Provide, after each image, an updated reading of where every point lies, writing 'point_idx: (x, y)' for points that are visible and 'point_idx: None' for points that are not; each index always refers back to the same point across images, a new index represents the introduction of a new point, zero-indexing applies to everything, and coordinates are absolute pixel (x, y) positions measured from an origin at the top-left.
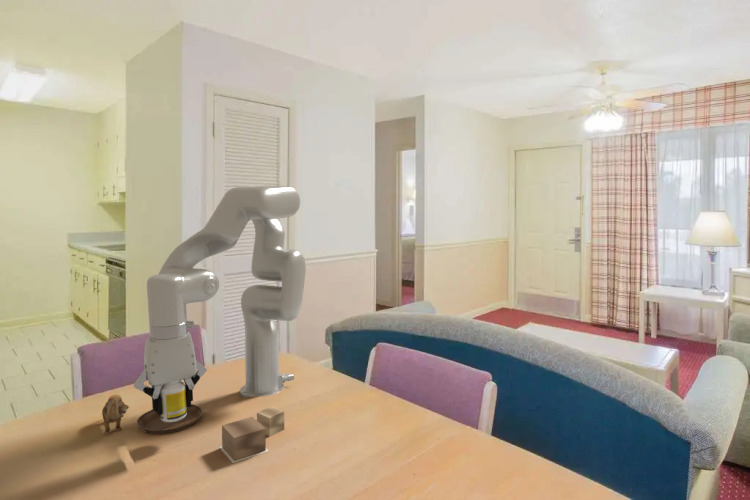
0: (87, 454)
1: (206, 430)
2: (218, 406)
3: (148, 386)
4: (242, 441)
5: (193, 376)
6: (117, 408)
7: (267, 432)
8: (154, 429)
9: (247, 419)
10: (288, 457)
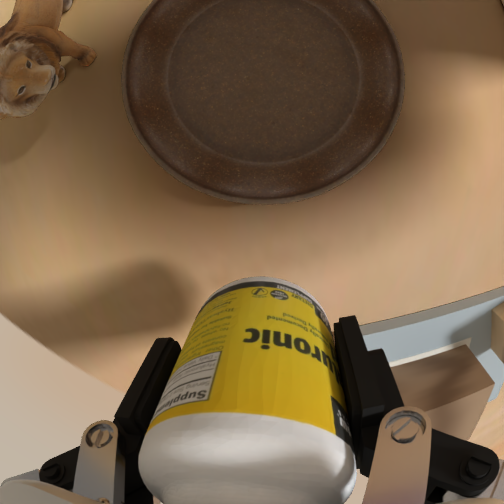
0: (33, 203)
1: (389, 190)
2: (443, 15)
3: (67, 485)
4: None
5: (451, 493)
6: (10, 112)
7: (495, 347)
8: (196, 93)
9: (478, 396)
10: None
